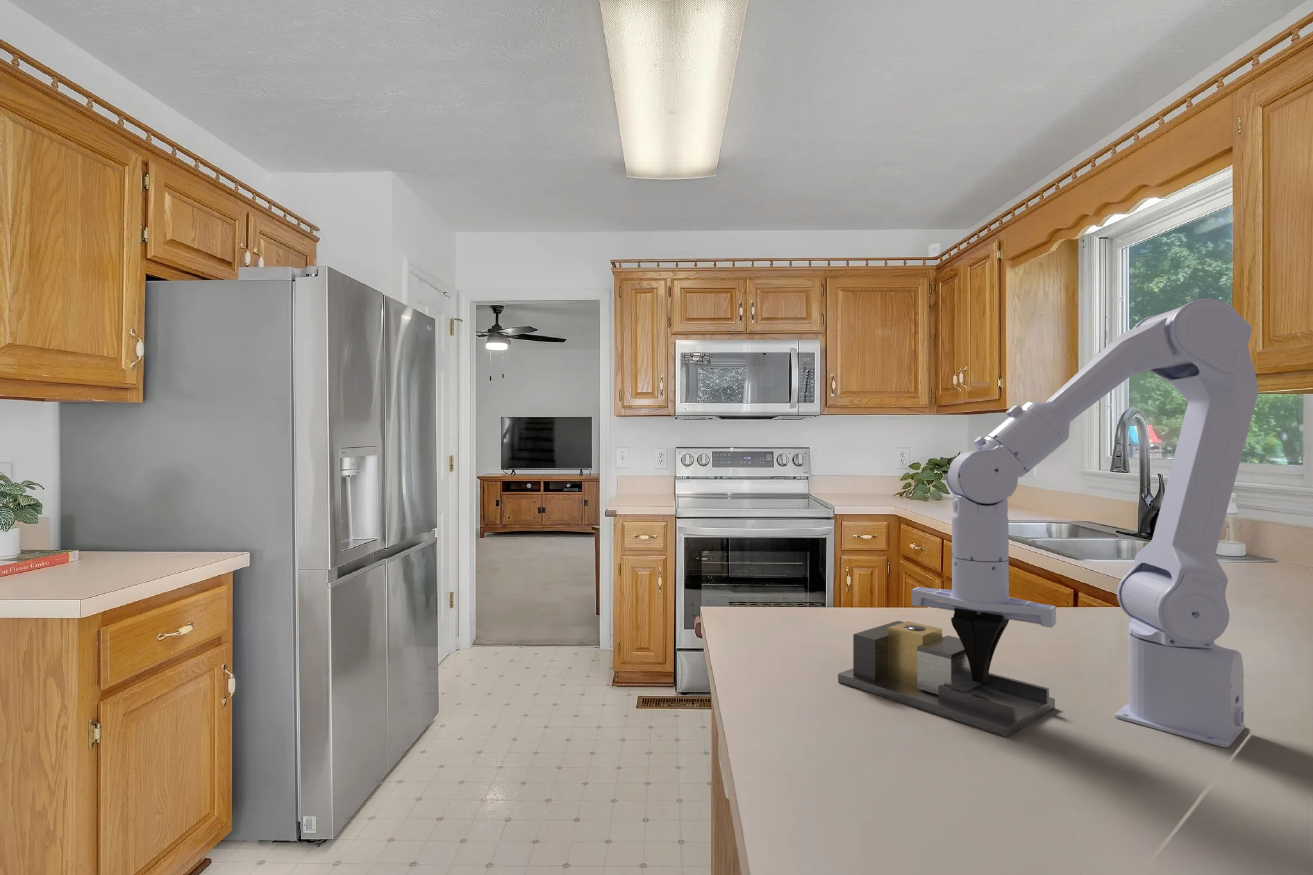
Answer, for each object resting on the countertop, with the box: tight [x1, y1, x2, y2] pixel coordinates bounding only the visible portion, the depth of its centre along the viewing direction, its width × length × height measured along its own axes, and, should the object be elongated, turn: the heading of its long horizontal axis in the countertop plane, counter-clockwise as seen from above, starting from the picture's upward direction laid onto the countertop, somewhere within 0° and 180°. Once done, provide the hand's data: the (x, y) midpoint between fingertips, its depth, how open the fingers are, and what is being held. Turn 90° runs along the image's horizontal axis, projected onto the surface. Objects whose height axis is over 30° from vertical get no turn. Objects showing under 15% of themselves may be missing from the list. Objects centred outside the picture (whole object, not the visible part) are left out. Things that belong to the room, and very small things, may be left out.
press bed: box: [837, 620, 1056, 738], centre depth 78 cm, size 20×12×6 cm, turn 39°
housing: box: [888, 621, 943, 686], centre depth 81 cm, size 4×4×6 cm
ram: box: [917, 635, 981, 694], centre depth 78 cm, size 4×7×5 cm, turn 129°
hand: (980, 679), depth 75 cm, fingers closed
